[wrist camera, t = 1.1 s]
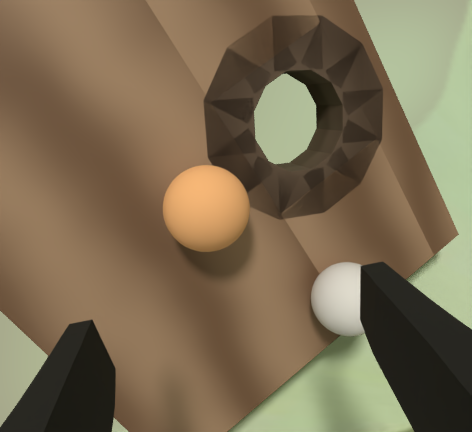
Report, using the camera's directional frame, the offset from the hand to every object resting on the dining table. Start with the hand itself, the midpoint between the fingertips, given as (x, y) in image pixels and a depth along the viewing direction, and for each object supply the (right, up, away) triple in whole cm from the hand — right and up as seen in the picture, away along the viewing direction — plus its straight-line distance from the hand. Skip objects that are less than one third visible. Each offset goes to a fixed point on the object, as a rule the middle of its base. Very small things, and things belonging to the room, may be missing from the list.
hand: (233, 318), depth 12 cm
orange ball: (-1, +3, +6) cm, 7 cm away
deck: (-2, +5, +10) cm, 11 cm away
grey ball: (+6, -1, +9) cm, 11 cm away
